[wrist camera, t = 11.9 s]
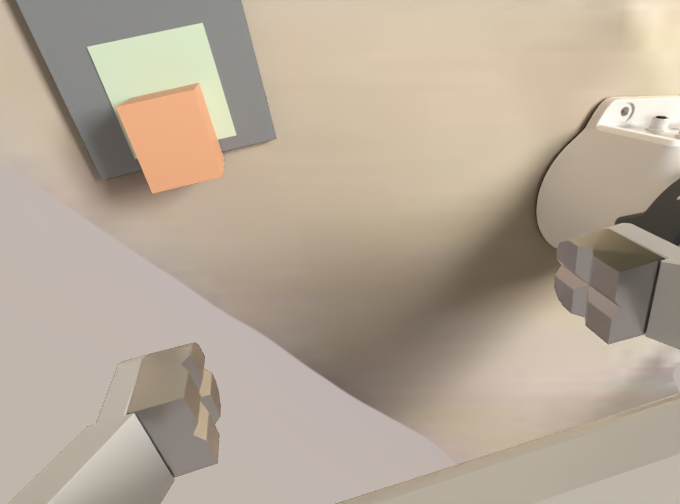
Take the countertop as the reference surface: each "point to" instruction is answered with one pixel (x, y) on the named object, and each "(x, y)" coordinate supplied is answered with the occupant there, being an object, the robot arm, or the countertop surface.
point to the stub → (173, 137)
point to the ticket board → (149, 67)
